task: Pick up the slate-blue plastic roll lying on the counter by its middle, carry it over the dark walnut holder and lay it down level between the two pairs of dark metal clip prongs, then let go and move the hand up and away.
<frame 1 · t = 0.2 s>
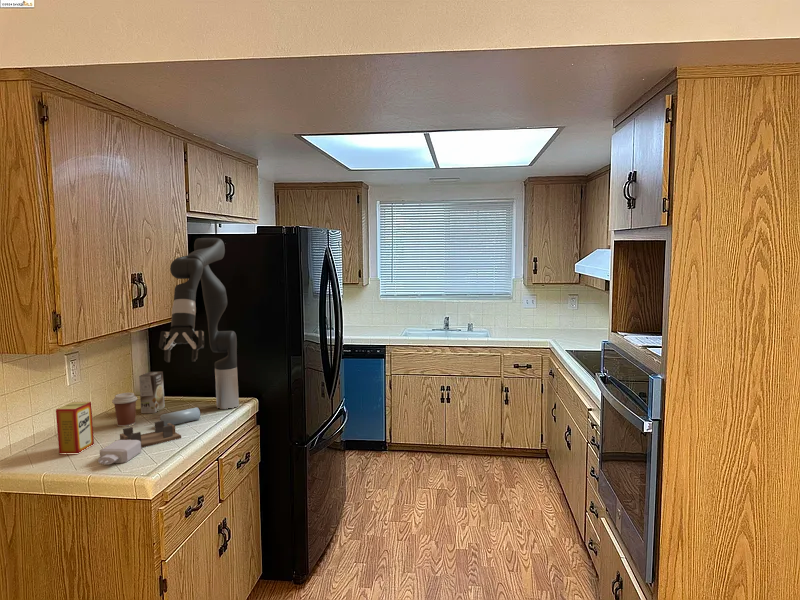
hand: (180, 361, 191), 31 cm above the countertop, tool tilted 20°, fingers open, 8 cm apart
coffee cup: (126, 424, 227), on the countertop
charger: (116, 462, 187), on the countertop
baking soda box: (77, 450, 199), on the countertop
walnut holder: (148, 440, 207), on the countertop
coffee box: (153, 410, 247), on the countertop
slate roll: (180, 423, 228), on the countertop
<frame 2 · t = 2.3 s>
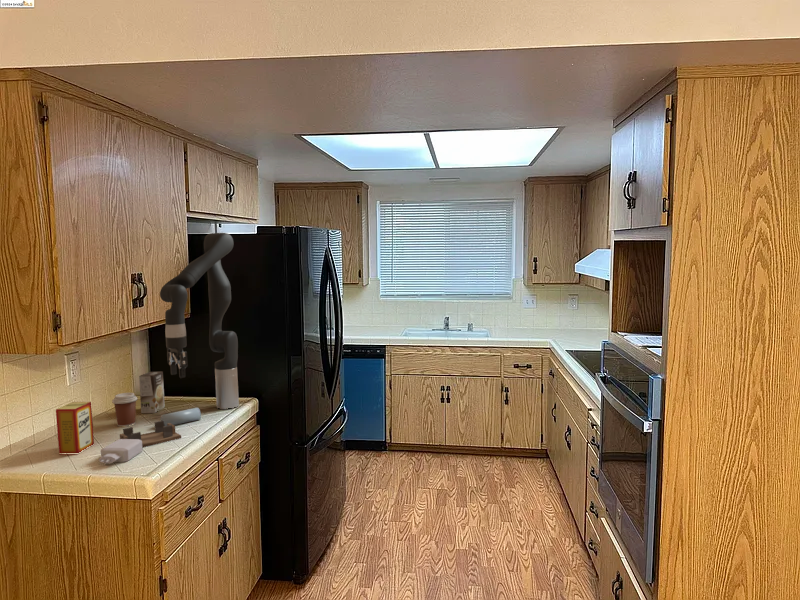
hand: (178, 376, 226), 19 cm above the countertop, tool pointing down, fingers open, 8 cm apart
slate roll: (180, 423, 228), on the countertop, tilted 13°
everything else where it was.
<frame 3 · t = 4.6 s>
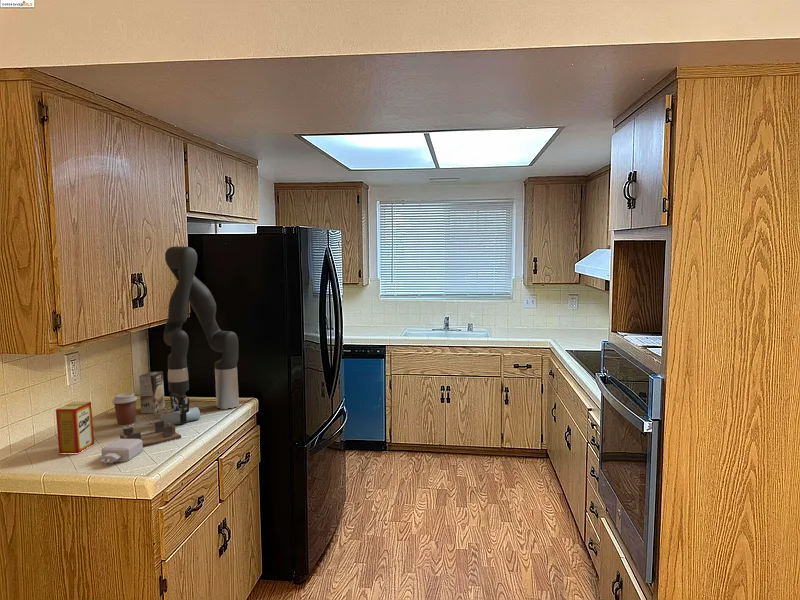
hand: (180, 421, 228), 1 cm above the countertop, tool pointing down, fingers closed on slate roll, 5 cm apart
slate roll: (180, 423, 228), on the countertop, touching gripper
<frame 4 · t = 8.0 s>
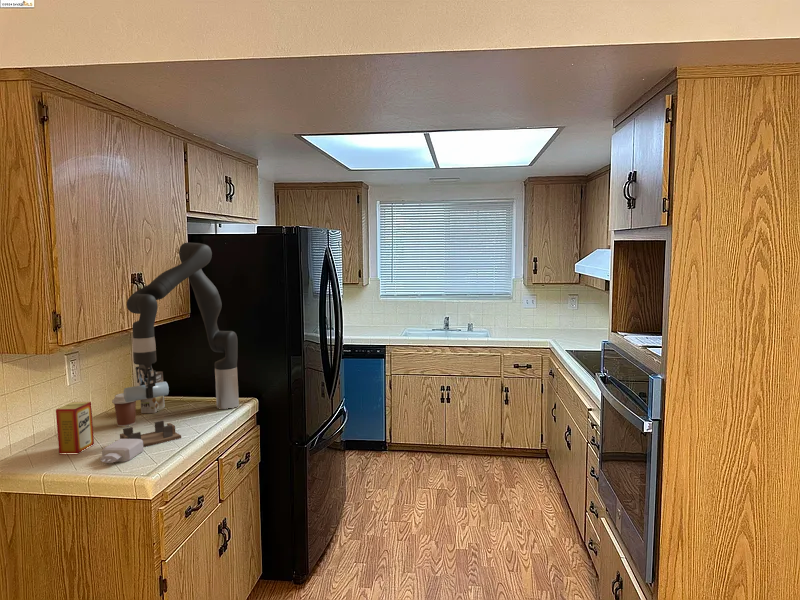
hand: (146, 396, 206), 16 cm above the countertop, tool pointing down, fingers closed on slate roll, 5 cm apart
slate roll: (146, 398, 206), point 15 cm above the countertop, touching gripper
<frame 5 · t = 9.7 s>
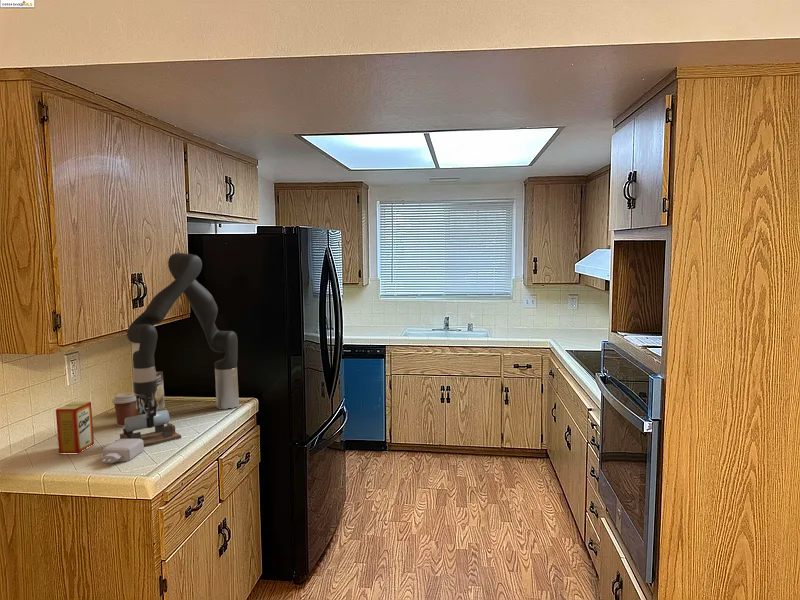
hand: (147, 425, 206), 6 cm above the countertop, tool pointing down, fingers closed on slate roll, 5 cm apart
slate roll: (147, 427, 206), point 5 cm above the countertop, touching gripper
when the fingers open (2 cm above the countertop, at t = 11.2 s): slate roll stays where it is, resting on walnut holder.
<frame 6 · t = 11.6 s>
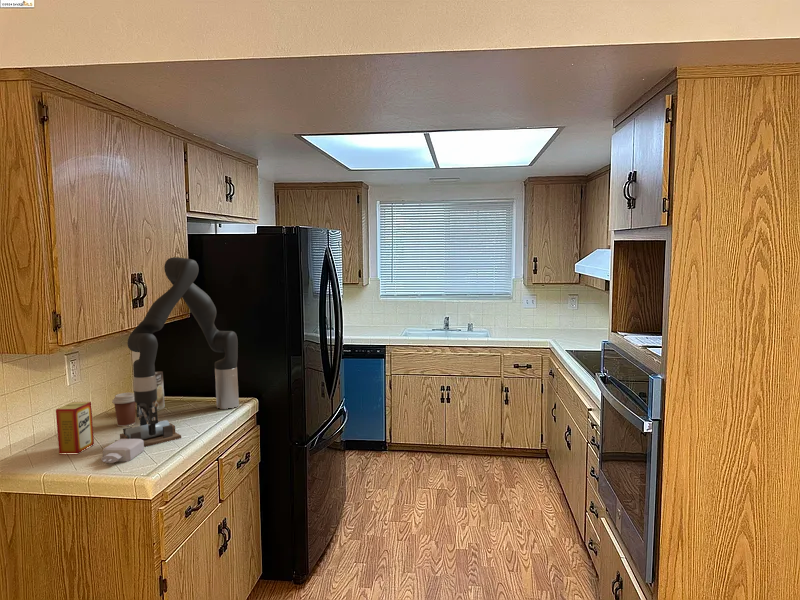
hand: (148, 432, 206), 3 cm above the countertop, tool pointing down, fingers open, 8 cm apart
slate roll: (148, 437, 207), point 1 cm above the countertop, touching walnut holder
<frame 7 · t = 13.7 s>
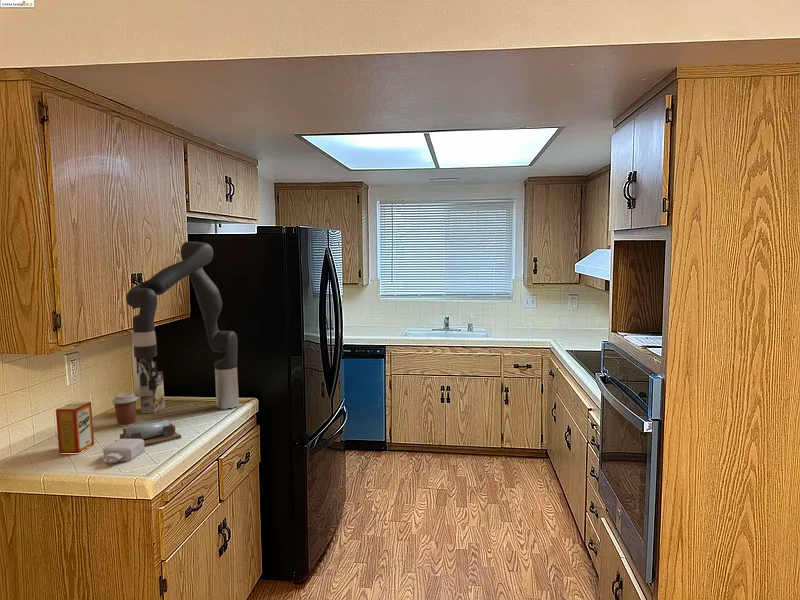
hand: (148, 388, 206), 19 cm above the countertop, tool pointing down, fingers open, 8 cm apart
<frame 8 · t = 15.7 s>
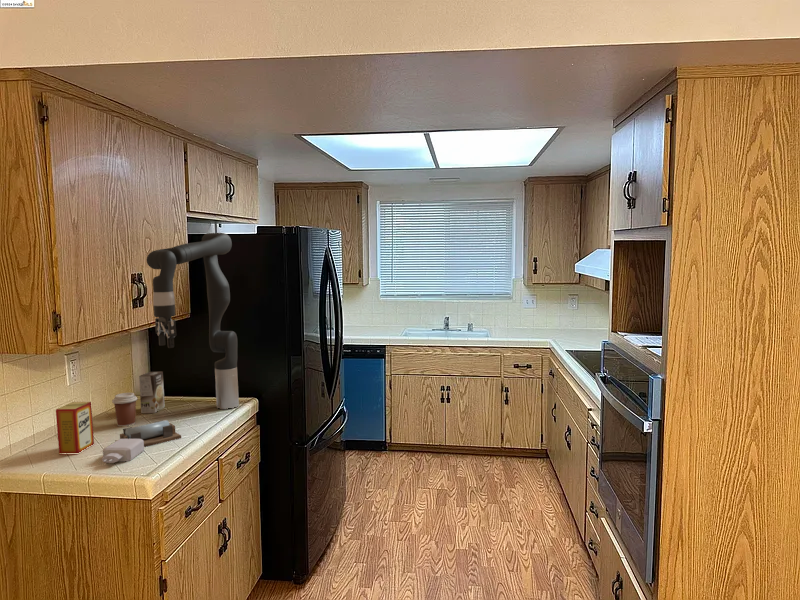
hand: (166, 346, 216), 32 cm above the countertop, tool pointing down, fingers open, 8 cm apart
at the end: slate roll 0.1 cm off-centre on the walnut holder, point 1.0 cm above the walnut holder's base; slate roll touching walnut holder; the gripper is holding nothing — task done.
